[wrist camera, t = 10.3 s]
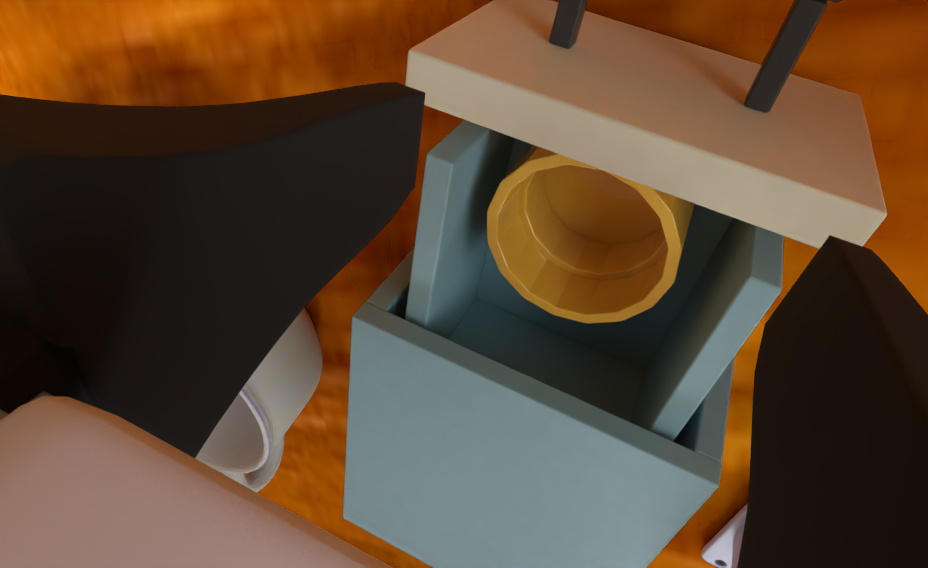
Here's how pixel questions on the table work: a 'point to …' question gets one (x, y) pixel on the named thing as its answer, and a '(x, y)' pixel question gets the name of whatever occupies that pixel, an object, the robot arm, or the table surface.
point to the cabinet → (507, 456)
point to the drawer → (643, 161)
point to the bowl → (585, 238)
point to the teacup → (266, 408)
